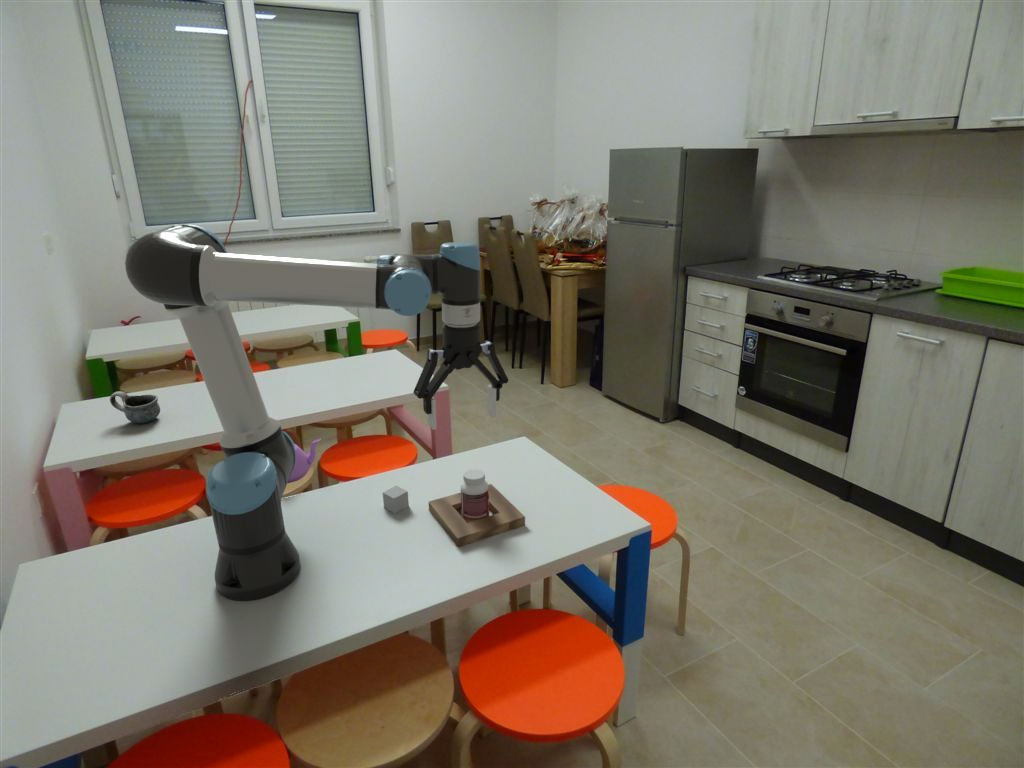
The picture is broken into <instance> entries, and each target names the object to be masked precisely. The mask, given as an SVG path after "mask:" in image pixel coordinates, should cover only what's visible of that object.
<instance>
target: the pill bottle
mask: <svg viewBox="0 0 1024 768" xmlns="http://www.w3.org/2000/svg"><path fill="white" fill-rule="evenodd" d="M462 475H463V476H462V479H463V481H462V482H461V484H460V493H461V511H460V512H461V517H462V518H463V519H464V520H465V521H466V522H467V523H469V522H472V521H475V520H478V519H482V518H485V517H488V516H490V510H489V483H488V481H487V480H486V473H485V471H484V470H481V469H478V468H472V469H467V470H465V471H464V472H463V474H462Z"/></svg>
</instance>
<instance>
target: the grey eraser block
mask: <svg viewBox="0 0 1024 768" xmlns="http://www.w3.org/2000/svg"><path fill="white" fill-rule="evenodd" d="M382 500H383V501H382V502H383V508H384V509H386V510H388V511H390V512H392V513H393V514H397V513H399V512H401V511H403V510H405V509H406V508H408V507H409V505H410V503H409V491H408V490H406V489H404V488H402V487H400V486H398V485H395V486H393V487H391V488H389V489H387V490H385V491H383V492H382Z"/></svg>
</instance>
